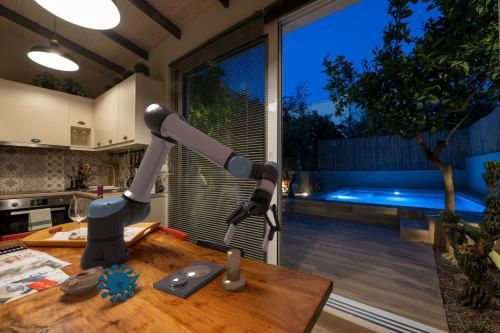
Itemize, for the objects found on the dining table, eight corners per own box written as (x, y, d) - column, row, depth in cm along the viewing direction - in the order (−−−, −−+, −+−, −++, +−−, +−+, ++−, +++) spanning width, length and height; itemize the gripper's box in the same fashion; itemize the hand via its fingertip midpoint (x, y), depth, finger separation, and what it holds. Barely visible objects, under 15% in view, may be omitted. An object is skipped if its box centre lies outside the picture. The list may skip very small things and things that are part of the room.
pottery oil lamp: (114, 276, 69) (117, 259, 67) (82, 311, 58) (83, 293, 56) (89, 266, 70) (91, 249, 67) (51, 299, 58) (52, 280, 56)
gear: (103, 305, 52) (95, 267, 57) (92, 318, 53) (86, 279, 58) (146, 291, 61) (137, 259, 66) (136, 303, 62) (127, 270, 67)
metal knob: (216, 288, 63) (217, 253, 64) (229, 277, 69) (230, 246, 70) (237, 294, 60) (238, 257, 60) (249, 282, 66) (249, 249, 67)
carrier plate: (152, 287, 63) (152, 279, 63) (198, 263, 81) (198, 256, 81) (184, 298, 58) (184, 289, 58) (225, 269, 76) (225, 262, 76)
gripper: (297, 202, 79) (285, 258, 66) (237, 199, 91) (216, 246, 77) (293, 188, 75) (279, 245, 61) (231, 186, 86) (207, 234, 72)
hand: (244, 246), depth 69 cm, fingers open, 13 cm apart
